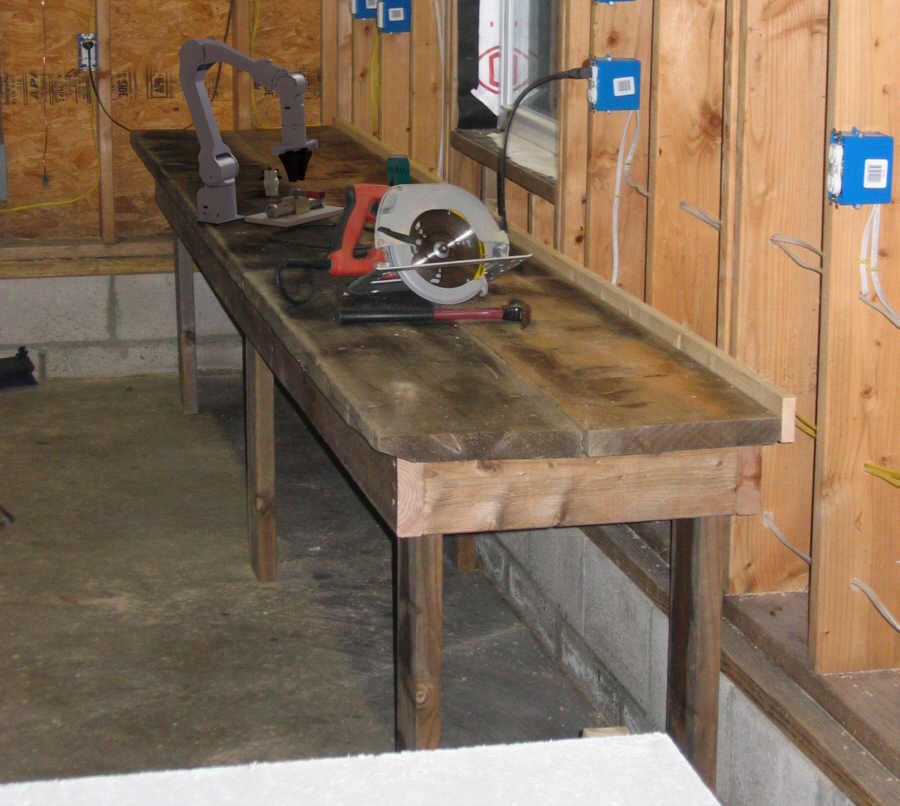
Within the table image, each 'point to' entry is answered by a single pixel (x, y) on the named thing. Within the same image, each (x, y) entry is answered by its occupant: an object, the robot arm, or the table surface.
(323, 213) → the mounting board
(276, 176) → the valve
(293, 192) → the valve lever
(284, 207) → the valve body
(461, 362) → the table surface
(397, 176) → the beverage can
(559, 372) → the table surface
